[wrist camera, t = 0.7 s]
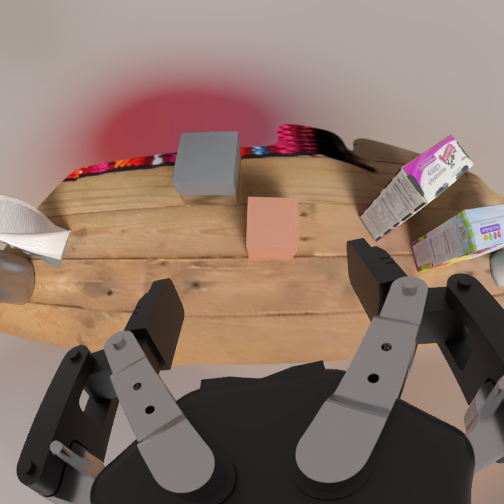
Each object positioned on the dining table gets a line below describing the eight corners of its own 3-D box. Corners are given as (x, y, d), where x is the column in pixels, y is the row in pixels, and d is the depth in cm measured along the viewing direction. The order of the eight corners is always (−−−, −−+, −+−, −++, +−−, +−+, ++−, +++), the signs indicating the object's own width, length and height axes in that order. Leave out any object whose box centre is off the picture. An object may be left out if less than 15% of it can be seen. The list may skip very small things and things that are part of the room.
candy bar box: (402, 184, 42) (451, 132, 26) (419, 209, 41) (476, 164, 25) (356, 216, 41) (401, 164, 25) (374, 243, 40) (429, 204, 24)
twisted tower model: (51, 215, 44) (-55, 151, 17) (79, 224, 43) (-39, 152, 16) (37, 257, 42) (-78, 212, 15) (63, 270, 41) (-67, 225, 14)
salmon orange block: (249, 258, 41) (246, 245, 33) (250, 218, 42) (247, 196, 34) (291, 259, 40) (298, 246, 32) (291, 219, 42) (298, 198, 34)
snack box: (488, 223, 40) (538, 196, 26) (495, 251, 39) (548, 230, 24) (408, 240, 40) (463, 207, 26) (417, 274, 39) (477, 255, 24)
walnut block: (186, 205, 43) (179, 195, 39) (192, 160, 45) (186, 147, 41) (238, 205, 43) (235, 195, 39) (241, 159, 44) (239, 146, 40)
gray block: (179, 194, 39) (171, 182, 35) (187, 147, 41) (181, 132, 37) (236, 195, 39) (233, 182, 35) (240, 146, 40) (238, 131, 36)
